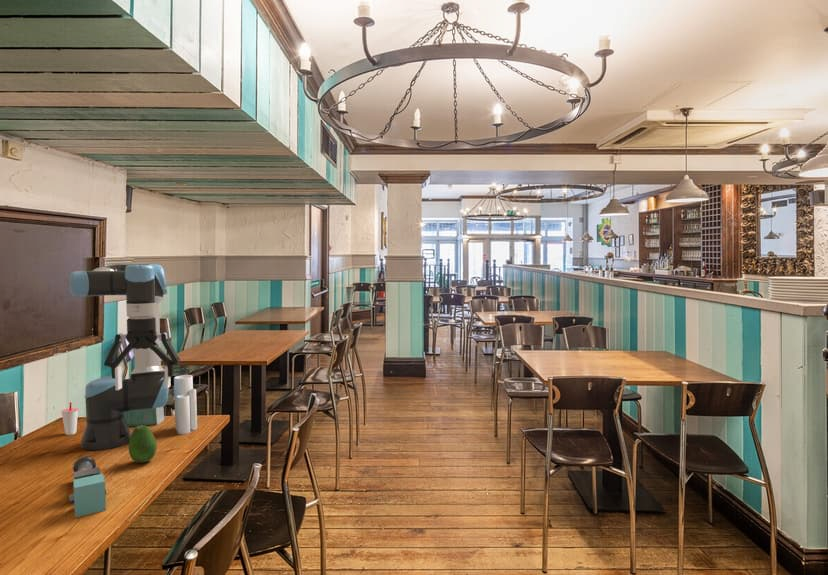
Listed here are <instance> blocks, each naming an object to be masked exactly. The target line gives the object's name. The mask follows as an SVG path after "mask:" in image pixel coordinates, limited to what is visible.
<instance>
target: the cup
mask: <svg viewBox="0 0 828 575" xmlns="http://www.w3.org/2000/svg"><path fill="white" fill-rule="evenodd" d="M78 415H79V408H76V407H73V408H72V401H70V402H69V408H66V409H63V410H61V416H62V421H63V422H62V423H63V428H64V434H65V435H66V436H72V435H75V434H76V433H77V429H78V428H77V427H78V417H79V416H78Z"/></svg>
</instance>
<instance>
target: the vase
mask: <svg viewBox="0 0 828 575" xmlns="http://www.w3.org/2000/svg"><path fill="white" fill-rule="evenodd" d="M193 380H194V376H193V375H191V374H182V375H177V376H174V377H173V388H174V390H173V394H174V395H173V396H174V423H175V424H174V426H175V430H176V431H177V434H178V435H187V434H190V433H191V431H196V430H198V412H197V407H198V406H197V405H198V404H197V389H196V388H194V383H193V382H194V381H193Z"/></svg>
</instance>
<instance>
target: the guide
mask: <svg viewBox="0 0 828 575" xmlns="http://www.w3.org/2000/svg"><path fill="white" fill-rule="evenodd" d="M99 474H102V473H101V469H100V466H97V467H96V468H92V469H87V470H82V471H77V472H74V471H73V480H75V479H79V478H84V477H89V476H93V475H99ZM106 495H107V491H106V488H105V496H106ZM68 499H69V504H72V503H74V493H72V494H71V493H70V494H68Z"/></svg>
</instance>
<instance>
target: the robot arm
mask: <svg viewBox="0 0 828 575" xmlns="http://www.w3.org/2000/svg"><path fill="white" fill-rule="evenodd" d="M167 287H168V286H167V281H166V276H165V271H164V268H163V266H162V265H160V264H154V263H153V264H152V263H134V264H133V263H130V264H129V263H127V264H126V263H125V264H124V263H123V264H122V263H121V264H120V263H119V264H109V265H104V266H100V267H97V268H94V269H93V270H78V271H77V270H76V271H72V272H70V276H69V291H70V294H71V295H72V296H73V297H86V298H87V297H101V296H102V297H103V296H125V297H126V302H125V304H126V307H125V308H126V317H128V318H127V319H126V331H127V333H126V334H123V333H121V332H120V333H117V334H115V336H114V342H113V344H112V346H111V348H110V350H109V353H108V355H107V357H106V359H105V360H104V363H103V366H105V367H109V368H110V369H111V370H110V371H111V375H109V376H104V377H99V378H97V379H93V380H92V381H91V380H90V381H89V382H88V383H87V384H86V385H85V392H84V393H85V395H84V398H85V415H86V416H85V418H86V424H85V427H84V431H83V433H82V437H81V440H80V447H81V449H83V450H86V451H101V450H108V449H112V448H113V449H114V448H116V447H119V446H123V445H125V444H128V442H130V439H131V435H132V432H131V430H130V429H129V426H127V423H126V421H125V418H124V412H127V411H136V410H145V409H154V408H159V407H165V406H166V405H167V403H168V398H169V391H170V390H169V389H170V387H171V385H172V384H171V381H172V380H171V378H172V377H173V376H174V374H175V372H174V371H175V370H174V369H175V365H178V363H180V362H181V359H180V357H179V355H178V354H177V352H176V350H175V348H174V347H173V344H172V343H171V341H170V339H169V334H168V332H163V333H161V330H160V329H161V324H160V323H161V322H160V303H162V301H163V300H164V295H168V288H167ZM125 340H126V341H127V342H128V344H127V345H126V346H125V348H124V349H123V350H122V352H121V353H120V354H119V355H118V356H117V358H115V357H116V355H117V353H118V351H119V349H120V347H121V346H122V345H123V344H122V343H123V342H124V341H125ZM161 343H162V346H164V349H165V350H166V352H167V353H168V354H167V353H166V352H165V351H164V350H163V349H162V347H161ZM133 349H134V369H133V370H132V371H131V372H130V374H129V375H130V377H129V378H124V376H123V374H122V371H123V370H122V366H121V365H120V364H121V363H122V361H124V360H125V358H126V357H127V356H128V355H129V353H131V352H132V350H133ZM114 359H115V360H114ZM162 362H163V363H164V364H165V366H164V368H163V367H162Z"/></svg>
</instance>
